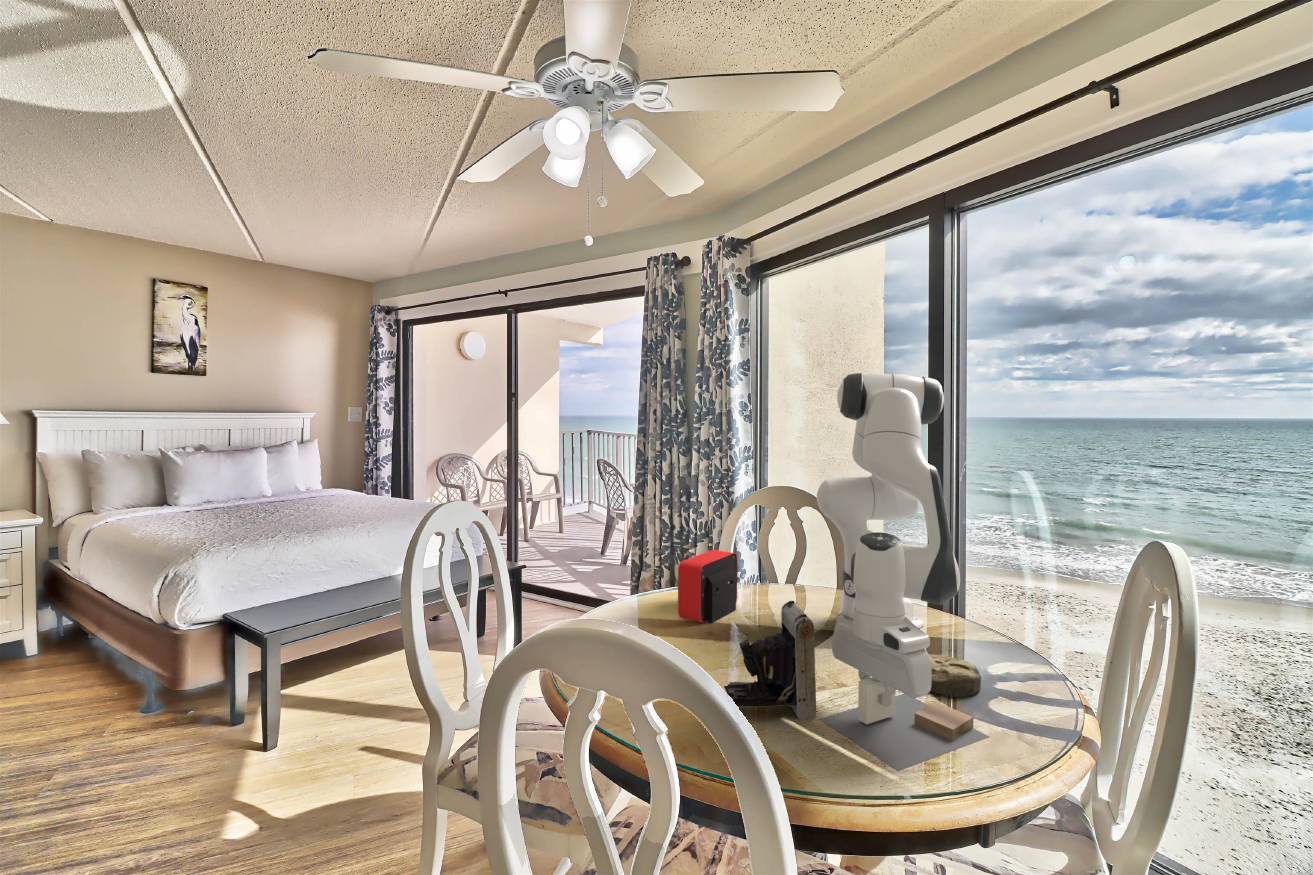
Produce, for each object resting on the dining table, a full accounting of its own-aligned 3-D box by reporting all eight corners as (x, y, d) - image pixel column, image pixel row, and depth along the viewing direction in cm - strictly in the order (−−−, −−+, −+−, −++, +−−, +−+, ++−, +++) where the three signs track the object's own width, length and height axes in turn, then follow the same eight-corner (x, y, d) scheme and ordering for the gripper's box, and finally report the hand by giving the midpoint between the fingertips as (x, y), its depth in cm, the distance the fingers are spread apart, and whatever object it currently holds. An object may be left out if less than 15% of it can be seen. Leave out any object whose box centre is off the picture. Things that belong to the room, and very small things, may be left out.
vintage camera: (723, 703, 121) (720, 603, 120) (800, 697, 122) (799, 598, 121) (733, 730, 112) (730, 622, 110) (817, 723, 113) (815, 616, 111)
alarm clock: (743, 607, 177) (744, 552, 176) (707, 627, 161) (707, 567, 160) (714, 601, 183) (714, 548, 182) (676, 620, 166) (676, 562, 166)
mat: (905, 696, 123) (905, 693, 123) (989, 740, 107) (989, 736, 107) (818, 721, 113) (818, 718, 113) (897, 774, 97) (897, 770, 97)
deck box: (885, 710, 115) (886, 673, 115) (894, 715, 113) (895, 677, 113) (857, 719, 112) (858, 680, 112) (866, 724, 110) (867, 685, 110)
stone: (958, 707, 119) (959, 680, 119) (897, 681, 130) (898, 656, 130) (994, 691, 126) (995, 665, 126) (934, 667, 137) (935, 643, 137)
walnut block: (935, 712, 115) (935, 701, 115) (973, 728, 110) (973, 717, 110) (914, 724, 111) (914, 713, 111) (952, 740, 106) (953, 729, 106)
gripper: (824, 610, 120) (823, 681, 120) (911, 647, 101) (910, 730, 102) (849, 605, 122) (848, 674, 123) (938, 641, 104) (936, 721, 105)
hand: (877, 700), depth 113 cm, fingers closed on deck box, 2 cm apart
